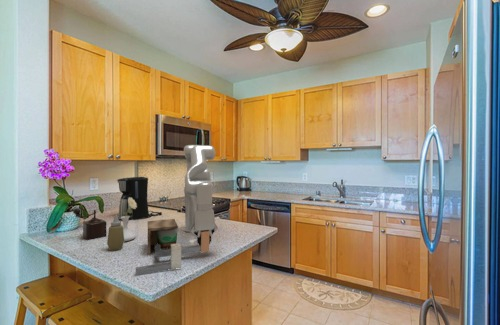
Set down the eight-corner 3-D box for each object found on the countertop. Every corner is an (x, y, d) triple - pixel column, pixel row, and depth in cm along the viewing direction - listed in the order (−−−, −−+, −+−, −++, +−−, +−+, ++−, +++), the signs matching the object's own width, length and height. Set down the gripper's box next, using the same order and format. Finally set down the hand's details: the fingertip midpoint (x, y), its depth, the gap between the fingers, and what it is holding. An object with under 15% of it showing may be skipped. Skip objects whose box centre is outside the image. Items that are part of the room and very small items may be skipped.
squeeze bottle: (112, 252, 123) (112, 217, 123) (103, 249, 127) (104, 215, 127) (127, 248, 130) (127, 214, 130) (119, 245, 134) (119, 212, 134)
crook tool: (204, 243, 129) (204, 224, 129) (209, 251, 119) (209, 231, 118) (154, 249, 120) (154, 229, 119) (155, 259, 109) (155, 237, 109)
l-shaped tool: (179, 265, 109) (180, 243, 109) (181, 268, 105) (181, 245, 105) (135, 272, 101) (135, 248, 101) (135, 276, 98) (135, 251, 98)
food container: (156, 251, 126) (157, 231, 126) (155, 247, 131) (155, 228, 131) (180, 247, 131) (181, 228, 131) (178, 243, 137) (178, 226, 137)
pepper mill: (101, 232, 157) (101, 205, 157) (106, 236, 150) (107, 207, 150) (72, 238, 145) (72, 208, 145) (76, 242, 138) (77, 211, 138)
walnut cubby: (174, 241, 141) (174, 218, 141) (177, 251, 125) (177, 225, 125) (147, 244, 135) (147, 221, 135) (147, 255, 120) (147, 228, 120)
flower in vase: (124, 244, 136) (124, 199, 136) (109, 241, 140) (109, 198, 140) (142, 237, 148) (142, 196, 148) (128, 235, 152) (128, 195, 152)
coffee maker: (112, 218, 198) (112, 177, 198) (150, 211, 223) (150, 175, 223) (125, 222, 184) (125, 178, 184) (163, 215, 209) (163, 176, 209)
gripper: (218, 204, 126) (218, 239, 127) (186, 206, 120) (185, 243, 120) (222, 207, 119) (222, 244, 120) (188, 210, 113) (188, 248, 113)
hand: (204, 243), depth 120 cm, fingers closed on crook tool, 4 cm apart
